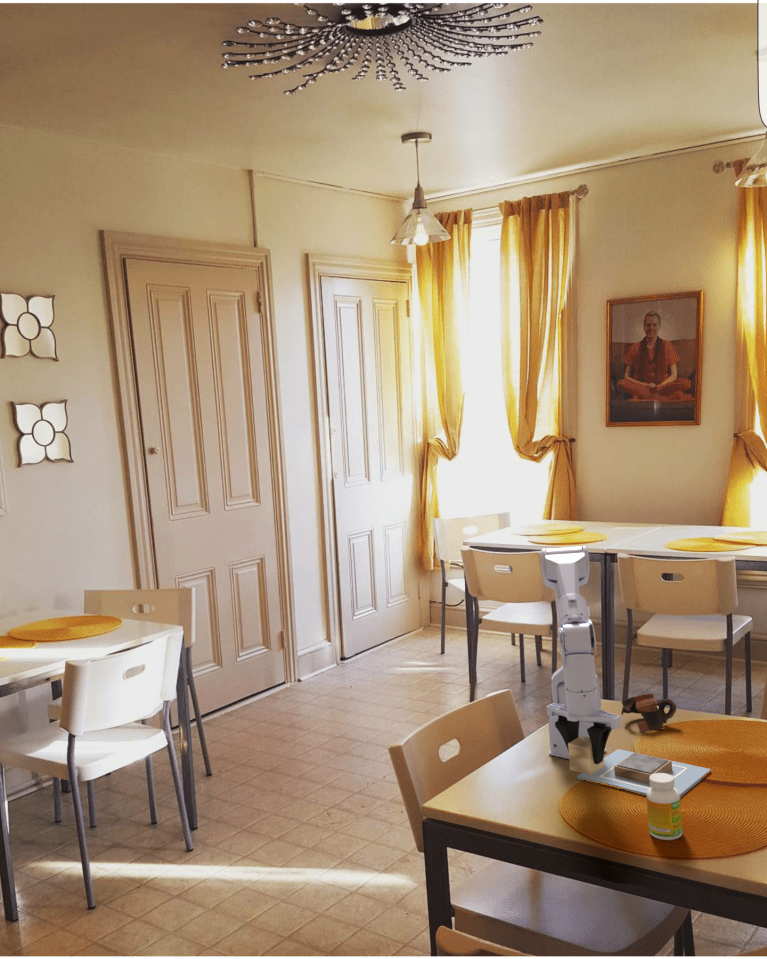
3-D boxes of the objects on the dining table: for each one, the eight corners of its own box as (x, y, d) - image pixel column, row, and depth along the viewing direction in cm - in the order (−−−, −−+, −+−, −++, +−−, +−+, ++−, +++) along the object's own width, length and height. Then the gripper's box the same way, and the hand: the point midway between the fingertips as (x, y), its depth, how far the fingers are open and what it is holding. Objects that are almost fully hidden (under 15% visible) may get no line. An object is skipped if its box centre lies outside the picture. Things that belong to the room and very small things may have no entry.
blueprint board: (577, 778, 171) (576, 766, 171) (618, 751, 182) (617, 739, 182) (673, 803, 157) (672, 789, 157) (711, 772, 168) (710, 759, 168)
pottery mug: (627, 736, 192) (615, 700, 195) (632, 741, 200) (620, 705, 203) (681, 722, 189) (668, 685, 192) (684, 727, 197) (671, 691, 201)
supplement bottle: (678, 843, 143) (674, 786, 142) (645, 837, 146) (641, 781, 145) (686, 829, 147) (681, 773, 147) (654, 823, 150) (649, 769, 150)
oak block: (570, 769, 161) (567, 743, 161) (583, 761, 164) (580, 735, 164) (591, 774, 158) (589, 748, 157) (604, 766, 161) (602, 740, 161)
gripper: (535, 687, 162) (541, 758, 163) (604, 700, 152) (610, 775, 153) (556, 677, 167) (562, 746, 168) (624, 688, 157) (630, 761, 158)
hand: (586, 759), depth 161 cm, fingers closed on oak block, 4 cm apart
